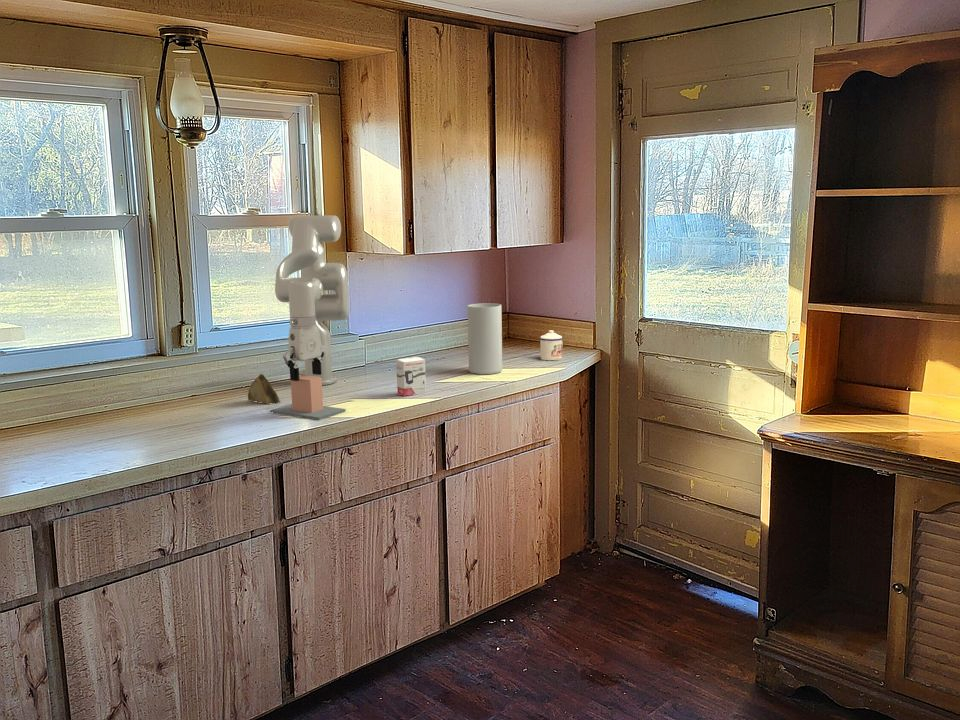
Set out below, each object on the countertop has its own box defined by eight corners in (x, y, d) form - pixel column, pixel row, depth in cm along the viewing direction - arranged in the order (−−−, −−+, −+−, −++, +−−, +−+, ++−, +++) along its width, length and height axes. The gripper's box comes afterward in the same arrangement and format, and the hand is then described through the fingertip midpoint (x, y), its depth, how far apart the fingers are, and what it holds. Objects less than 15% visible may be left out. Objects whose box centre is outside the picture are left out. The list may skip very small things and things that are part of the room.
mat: (270, 412, 265) (269, 410, 265) (297, 404, 275) (297, 402, 275) (319, 420, 255) (318, 417, 255) (345, 411, 265) (345, 408, 265)
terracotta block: (311, 412, 261) (310, 380, 259) (292, 409, 265) (290, 377, 263) (323, 409, 265) (321, 377, 263) (303, 406, 269) (301, 374, 267)
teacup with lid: (553, 361, 341) (553, 332, 339) (535, 359, 347) (535, 330, 345) (571, 357, 350) (571, 329, 348) (552, 355, 356) (552, 327, 354)
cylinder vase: (506, 373, 319) (505, 306, 315) (473, 375, 316) (472, 307, 312) (497, 367, 331) (496, 302, 327) (465, 369, 328) (464, 304, 324)
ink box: (404, 396, 284) (402, 361, 282) (396, 394, 288) (395, 359, 286) (426, 393, 289) (425, 358, 286) (419, 390, 293) (418, 356, 291)
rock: (238, 394, 281) (246, 396, 272) (251, 372, 283) (260, 372, 275) (266, 411, 286) (275, 412, 277) (279, 388, 288) (288, 389, 279)
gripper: (291, 327, 251) (295, 384, 254) (331, 318, 265) (334, 373, 269) (273, 325, 255) (276, 381, 258) (313, 317, 269) (316, 370, 273)
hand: (306, 377), depth 264 cm, fingers open, 9 cm apart
